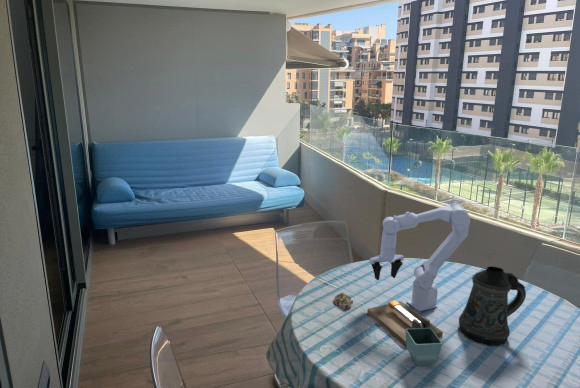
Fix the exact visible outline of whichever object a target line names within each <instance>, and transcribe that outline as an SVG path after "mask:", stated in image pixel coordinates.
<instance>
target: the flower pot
mask: <svg viewBox="0 0 580 388" xmlns="http://www.w3.org/2000/svg"><path fill="white" fill-rule="evenodd" d="M405 332H406V345H407V347H406V348H407V351H408V353H409V355H410V357H411V359H412V360H413V363H415V365H416V366H431V365H433V364H434V363H436V362H437V361H438V359H439V357H440V354H441V350H442V348H443V347H442V346H443V341H442V340H441V339H440V338H438V337H437V335H436V334H435V333H434V331H433V330H432V329H431V328H415V329H405Z"/></svg>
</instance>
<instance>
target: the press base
mask: <svg viewBox="0 0 580 388" xmlns="http://www.w3.org/2000/svg"><path fill="white" fill-rule="evenodd" d="M397 302H398V303H399V304H400V306H401V307H402V308H404V309H405V310H406V311H408V312H409V313H410V314H411V315H413V316H414V317H415V318H416V319H418V320H419V321H420V322H421V323H424V325H425V328H431V329H432V330H433V331H434V333H435V334H436V335H437V337H438V338H439V339H440V338H442V337H443V334H444V332H443V331H442V330H441V329H439V328H438V327H437V326H436V325H434V324H433V323H431V321H430V319H428V318H427V317H425V316H422V315H420V314H419V313H417V312H416V311H415V310H413V308H411V307H410V306H408V305H407V304H405V303H404V302H403V301H401V300H400V301H397ZM366 310H367V311H366V312H367V313H366V314H367V315H369V316H370V317H371V318H372V319H373V320H374V321H375V322H376V323H378V324H379V325H380V326H381V327H382V328H383V329H384V330H385V331H387V332H388V333H389V334H390V335H391V336H392V337H393V338H395V339H396V340H397V341H398V342H399V343H400V344H402V345H403V346H404V347H405V348H407V345H406V332H405V329H415V328H420V326H421V323H420V322H419V321H417V320H416V319H413V320H412V324H411V323H410V322H409V321H408V320H407V319H405V318H404V317H403V316H402V315H401V314H399V313H398V312H397V311H396V310H394V309H391V308H390V307H389V306H388V304H382V305H379V306H374V307H370V308H369V307H368V308H367V309H366Z"/></svg>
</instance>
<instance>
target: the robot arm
mask: <svg viewBox="0 0 580 388" xmlns="http://www.w3.org/2000/svg"><path fill="white" fill-rule="evenodd" d="M435 220H442V221H445V222H447V223H450V222H451V223H450V224H451V228H452V231H451V232H450V233H449V234H448V236H447V237H446V238H445V239H444V241H442V243H441V244H440V245H439V246H438V248H437V249H436V250H434V252H433V253H432V254H431V256H430V257H429V258H428V259H427V260H425V261H423V262H422V263H421V264H420V265H417V266H416V267H415V268H414V270H413V275H414V276H415V277H414V278H415V279H414V281H412V282H413V283H412V291H411V292H412V294H411V299H409V300H406V303H407V304H408V305H410V306H412V307H413V308H414V309H415V310H417V311H419V312H422V311H427V310H430V309H434V308H438V305H437V302H438V301H437V300H438V294H439V293H438V287H437V286H436V284H434V281H435V279H436V277H438V272H439V270H440V268H441V267H442V266H443V265H444V264H445V263H446V262H447V260H448V259H449V258H450V257H451V255H452V254H454V252H455V251H456V250H457V248H458V247H459V246H460V245H461V244H462V243H463V242H464V241H465V239H466V238H467V237H468V235H469V230H470V229H469V228H470V224H471V219H470V215H469V213H468V212H467V211H466V210H465V208H463V206H462V205H461V204H458V203H452V204H447V205H444V206H443V205H442V206H441V207H437V208H435V209H434V208H433V209H430V210H427V211H423V212H421V213H418V214H417V213H414V212H410V211H406V212H405V213H404V214H400V215H393V216H386V217H385V218H384V219H383V221H382V223H381V225H382V232H381V240H380V252H379V255H376V256H374V257H370V258H369V263H370V265H371V267H372V271H373V274H374V279H375V280H376V281H379V280H380V278H381V270H382V268H383V266H382V265H381V263H390V266H391V268H390V269H391V270H390V276H391V278H393V279H395V278H396V277H397V274H398V272H399V270H400V268H401V267H402V266H403V261H404V258H405V257H404V255H402V254H396V247H397V246H396V245H397V233H398V232H399V231H403V230H408V229H412V228H416V227H417V226H418V225H419V223H424V222H430V221H435Z"/></svg>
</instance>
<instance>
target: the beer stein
mask: <svg viewBox="0 0 580 388" xmlns="http://www.w3.org/2000/svg"><path fill="white" fill-rule="evenodd" d="M471 277H472V278H471V279H472V288H471V291H470V293H469V295H468V300H467V302H466V304H465V307H464V308H463V311H462V312H461V314H460V315H459V318H458V326H459V331H460V333H461V334H462V335H463V337H464V338H466V339H468V340H470V341H472V342H474V343H476V344H480V345H484V346H489V347H490V346H491V347H500V346H503V345H504V344H505V343H506V342H507V341H508V338H509V336H510V332H511V331H510V328H509V323H508V322H509V321H508V317H510V316H511V315H513V314H514V313H515V312H516V311H517V310H519V308H520V307H521V306H522V305H523V304H524V302H525V300H526V297H527V292H526V286H525V285H524V284H523V283H520V281H519V279H518V277H516V275H514V273H512V272H505V271H504V269H503V268H501V267H497V266H487V267H486V269H484V270H481V271H479V272H476V273H475V274H473V275H472V276H471ZM510 291H517V292H516V295H515V297H514V298H513V299H512V300H511V301H510V302H509V301H508V300H509V299H508V294H509V292H510ZM508 302H509V303H508Z"/></svg>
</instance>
